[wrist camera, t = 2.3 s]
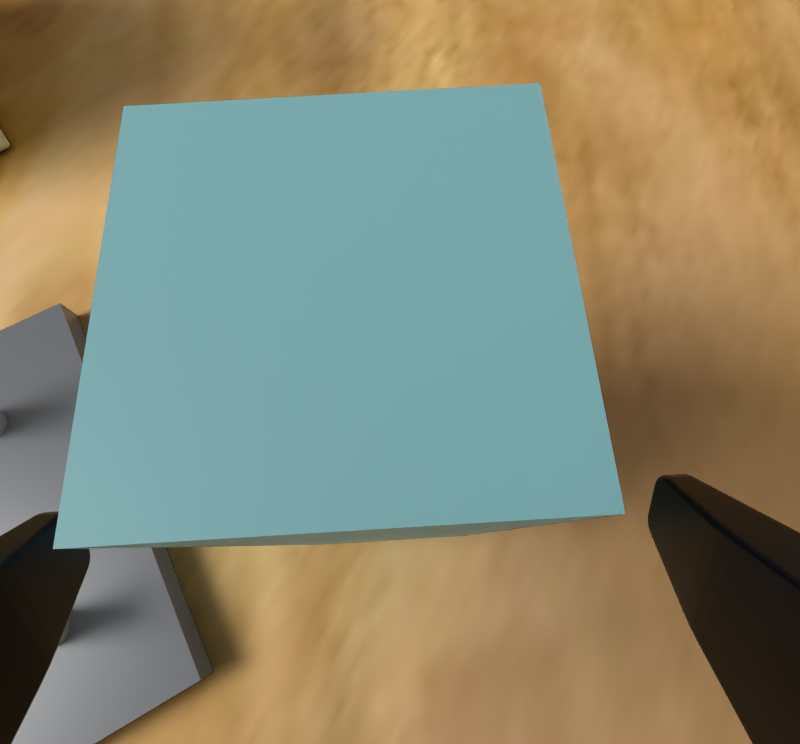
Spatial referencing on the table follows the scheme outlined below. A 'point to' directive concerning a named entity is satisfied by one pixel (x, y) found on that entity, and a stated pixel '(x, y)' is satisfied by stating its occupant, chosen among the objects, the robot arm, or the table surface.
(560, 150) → the table surface
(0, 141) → the box
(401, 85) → the table surface
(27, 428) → the base plate
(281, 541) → the teal block
